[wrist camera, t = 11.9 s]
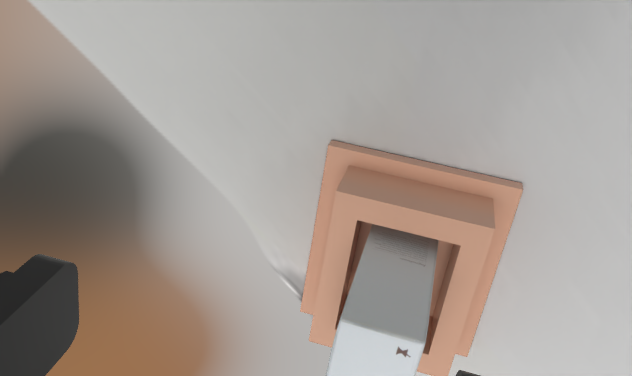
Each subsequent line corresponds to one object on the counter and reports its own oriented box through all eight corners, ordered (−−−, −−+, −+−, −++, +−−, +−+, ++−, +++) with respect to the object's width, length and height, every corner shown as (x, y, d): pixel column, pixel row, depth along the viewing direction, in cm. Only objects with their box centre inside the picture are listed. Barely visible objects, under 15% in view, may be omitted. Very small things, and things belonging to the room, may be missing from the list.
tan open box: (303, 303, 44) (284, 346, 40) (331, 139, 39) (313, 169, 34) (467, 347, 43) (466, 398, 38) (522, 183, 37) (528, 219, 32)
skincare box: (376, 205, 39) (339, 316, 28) (441, 223, 38) (429, 343, 27) (356, 282, 41) (315, 410, 31) (417, 300, 41) (397, 436, 30)
